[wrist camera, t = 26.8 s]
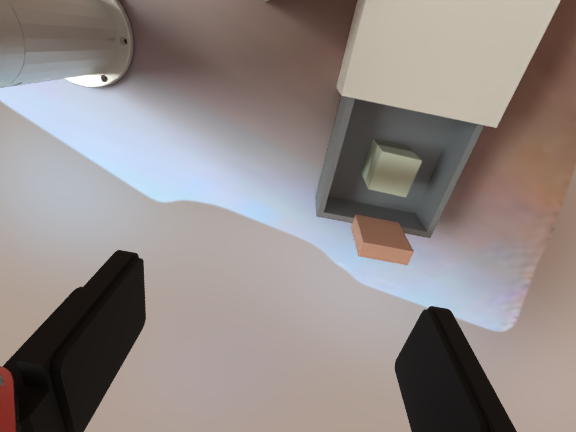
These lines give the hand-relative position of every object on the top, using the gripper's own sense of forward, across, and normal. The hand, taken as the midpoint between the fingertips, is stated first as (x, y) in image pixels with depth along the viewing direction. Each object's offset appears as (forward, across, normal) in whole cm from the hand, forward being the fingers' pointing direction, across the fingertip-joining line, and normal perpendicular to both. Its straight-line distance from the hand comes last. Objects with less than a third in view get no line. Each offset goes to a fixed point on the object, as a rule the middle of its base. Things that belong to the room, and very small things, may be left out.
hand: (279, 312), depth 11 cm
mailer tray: (+36, -13, +3) cm, 39 cm away
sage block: (+36, -13, +4) cm, 38 cm away
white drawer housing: (+36, -13, -12) cm, 40 cm away
